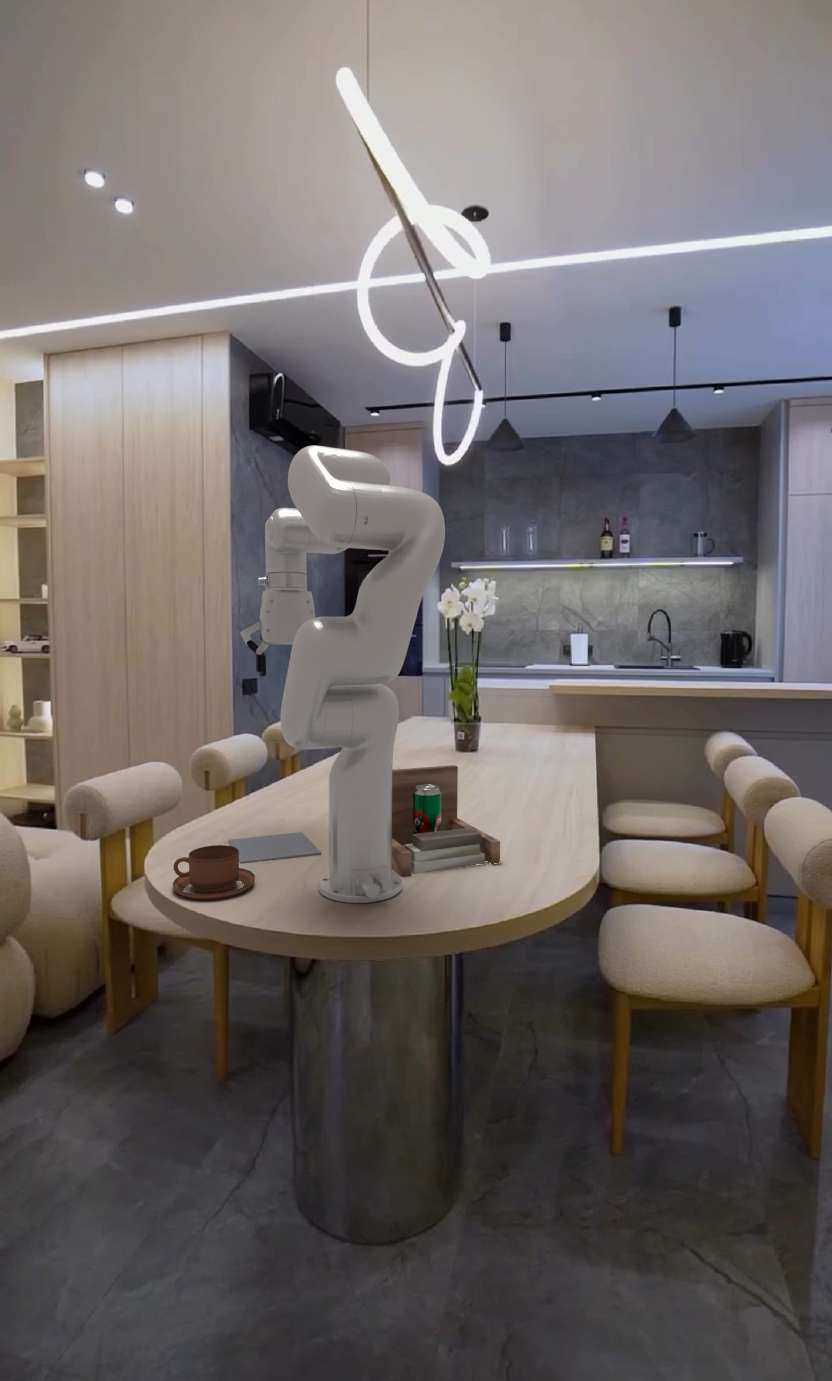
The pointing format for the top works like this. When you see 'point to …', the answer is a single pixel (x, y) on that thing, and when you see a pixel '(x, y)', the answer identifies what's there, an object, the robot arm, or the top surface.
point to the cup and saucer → (212, 873)
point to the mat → (274, 847)
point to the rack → (438, 848)
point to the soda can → (426, 809)
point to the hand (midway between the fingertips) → (288, 675)
